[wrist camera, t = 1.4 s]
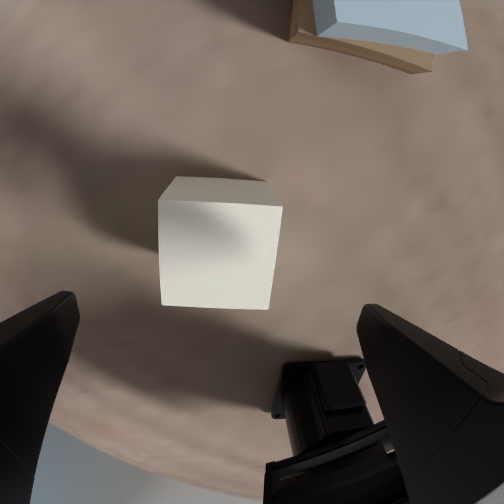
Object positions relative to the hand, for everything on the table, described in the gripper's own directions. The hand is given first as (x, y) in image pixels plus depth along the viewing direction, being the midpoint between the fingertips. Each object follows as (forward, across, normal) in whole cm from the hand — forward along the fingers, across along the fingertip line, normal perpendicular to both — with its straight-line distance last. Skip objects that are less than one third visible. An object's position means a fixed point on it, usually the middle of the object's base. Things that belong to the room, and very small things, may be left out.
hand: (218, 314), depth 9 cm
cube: (+8, 0, 0) cm, 8 cm away
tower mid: (+6, -6, -13) cm, 16 cm away
